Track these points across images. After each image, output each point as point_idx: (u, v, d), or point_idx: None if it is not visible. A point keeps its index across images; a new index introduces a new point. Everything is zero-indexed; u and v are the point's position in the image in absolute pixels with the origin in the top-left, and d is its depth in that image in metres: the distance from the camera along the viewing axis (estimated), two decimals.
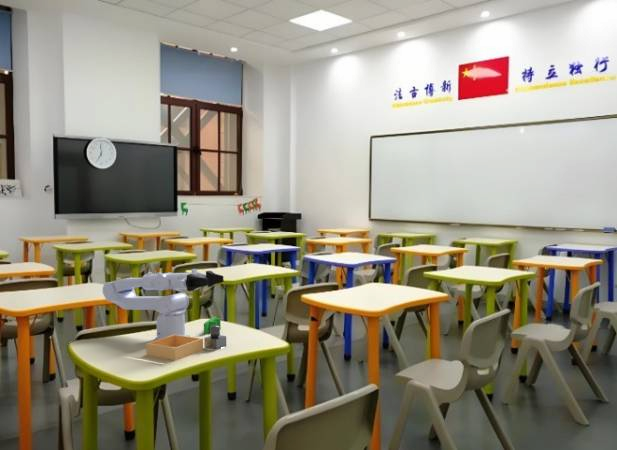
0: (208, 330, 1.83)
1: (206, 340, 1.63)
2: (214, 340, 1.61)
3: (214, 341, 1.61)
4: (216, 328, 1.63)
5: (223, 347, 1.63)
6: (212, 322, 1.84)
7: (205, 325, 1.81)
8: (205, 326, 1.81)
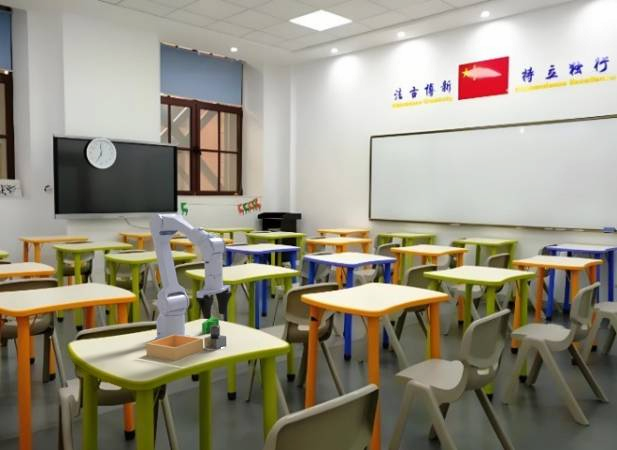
0: (206, 330, 1.83)
1: (206, 340, 1.63)
2: (214, 340, 1.61)
3: (214, 341, 1.61)
4: (216, 328, 1.63)
5: (223, 347, 1.63)
6: (210, 322, 1.84)
7: (203, 325, 1.81)
8: (203, 326, 1.81)
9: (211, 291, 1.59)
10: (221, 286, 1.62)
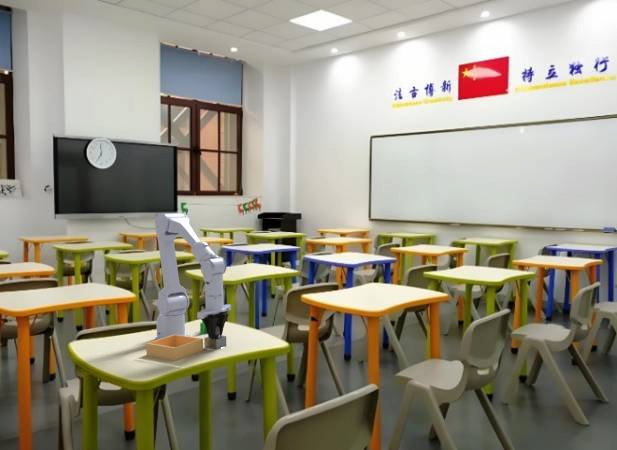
0: (205, 330, 1.83)
1: (206, 340, 1.63)
2: (214, 340, 1.61)
3: (214, 341, 1.61)
4: (216, 328, 1.63)
5: (223, 347, 1.63)
6: None
7: (201, 325, 1.81)
8: (201, 326, 1.81)
9: (212, 312, 1.60)
10: (221, 306, 1.63)
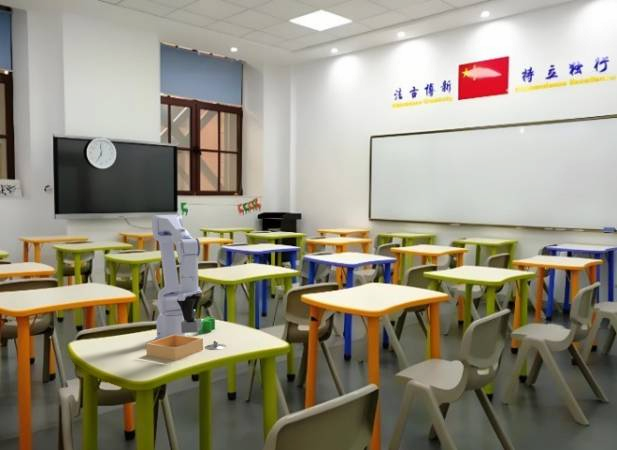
0: (202, 330, 1.83)
1: (184, 324, 1.58)
2: (194, 323, 1.58)
3: (194, 324, 1.58)
4: (193, 311, 1.60)
5: (223, 347, 1.63)
6: (206, 322, 1.84)
7: None
8: None
9: (191, 293, 1.56)
10: (198, 288, 1.60)
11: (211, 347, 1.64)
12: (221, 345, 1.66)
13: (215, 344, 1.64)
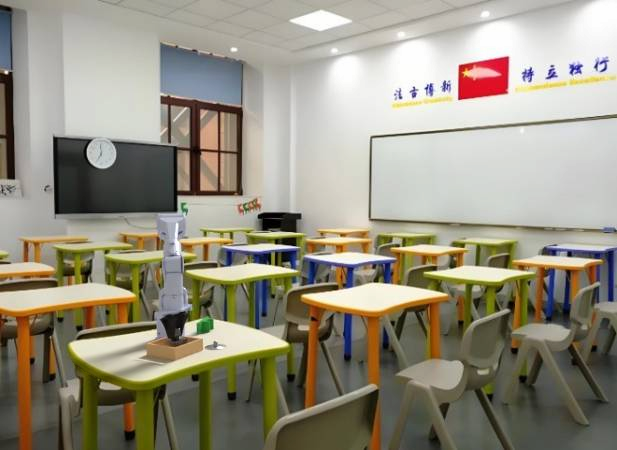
0: (201, 330, 1.83)
1: (166, 343, 1.57)
2: (175, 342, 1.55)
3: (175, 343, 1.55)
4: (177, 330, 1.57)
5: (223, 347, 1.63)
6: (205, 322, 1.84)
7: (198, 325, 1.81)
8: (198, 326, 1.81)
9: (170, 312, 1.54)
10: (181, 306, 1.57)
11: (211, 347, 1.64)
12: (221, 345, 1.66)
13: (215, 344, 1.64)
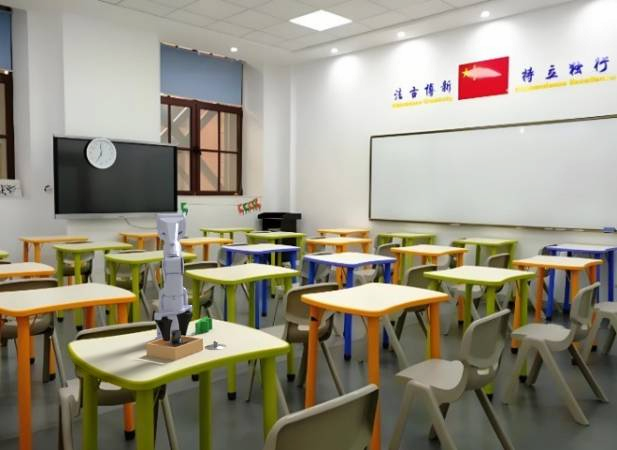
0: (200, 330, 1.83)
1: (167, 345, 1.57)
2: (176, 345, 1.55)
3: (176, 346, 1.55)
4: (177, 333, 1.57)
5: (223, 347, 1.63)
6: (204, 322, 1.84)
7: (196, 325, 1.81)
8: (196, 326, 1.81)
9: (170, 313, 1.54)
10: (181, 307, 1.57)
11: (211, 347, 1.64)
12: (221, 345, 1.66)
13: (215, 344, 1.64)
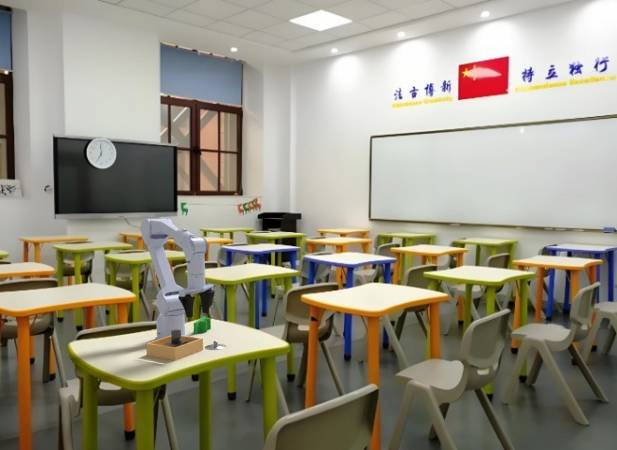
0: (198, 330, 1.83)
1: (167, 345, 1.57)
2: (176, 345, 1.55)
3: (176, 346, 1.55)
4: (177, 333, 1.57)
5: (223, 347, 1.63)
6: (202, 322, 1.84)
7: (195, 325, 1.81)
8: (195, 326, 1.81)
9: (193, 290, 1.62)
10: (203, 285, 1.65)
11: (211, 347, 1.64)
12: (221, 345, 1.66)
13: (215, 344, 1.64)
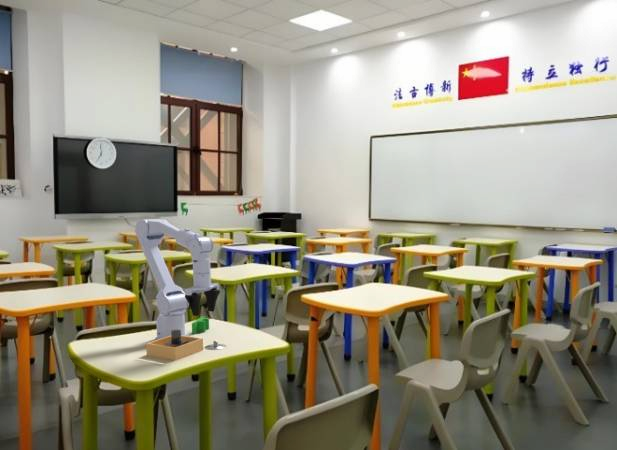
0: (196, 330, 1.83)
1: (167, 345, 1.57)
2: (176, 345, 1.55)
3: (176, 346, 1.55)
4: (177, 333, 1.57)
5: (223, 347, 1.63)
6: (200, 322, 1.84)
7: (193, 325, 1.81)
8: (193, 326, 1.82)
9: (199, 289, 1.64)
10: (209, 284, 1.67)
11: (211, 347, 1.64)
12: (221, 345, 1.66)
13: (215, 344, 1.64)
